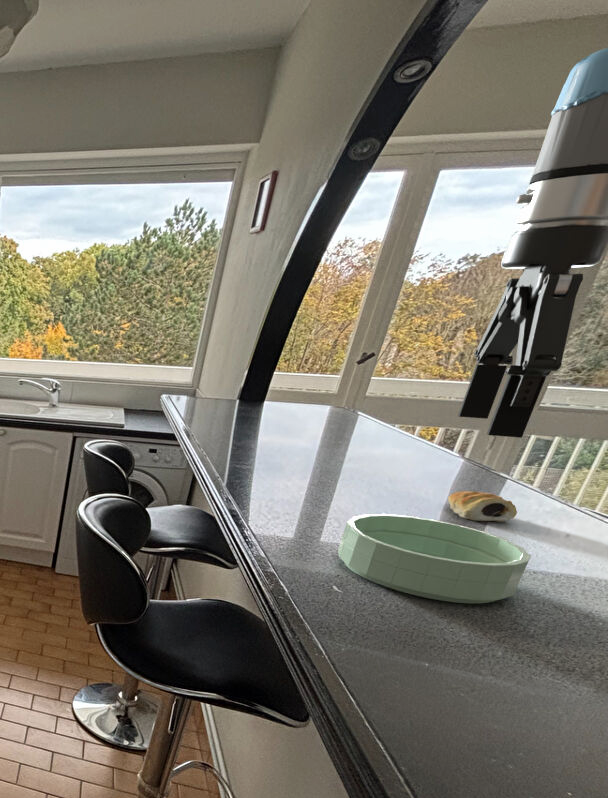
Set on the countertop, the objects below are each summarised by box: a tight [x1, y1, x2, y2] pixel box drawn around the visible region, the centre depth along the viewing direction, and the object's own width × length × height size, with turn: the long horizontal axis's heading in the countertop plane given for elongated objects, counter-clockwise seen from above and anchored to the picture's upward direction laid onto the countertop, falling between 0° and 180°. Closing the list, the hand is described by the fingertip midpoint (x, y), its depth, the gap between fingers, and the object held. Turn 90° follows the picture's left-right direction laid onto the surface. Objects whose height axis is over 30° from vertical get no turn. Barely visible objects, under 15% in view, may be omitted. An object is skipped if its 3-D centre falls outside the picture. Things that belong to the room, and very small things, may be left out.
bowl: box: [337, 513, 532, 604], centre depth 71 cm, size 16×16×5 cm
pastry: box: [447, 490, 518, 522], centre depth 93 cm, size 9×7×4 cm
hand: (486, 426), depth 71 cm, fingers open, 13 cm apart
